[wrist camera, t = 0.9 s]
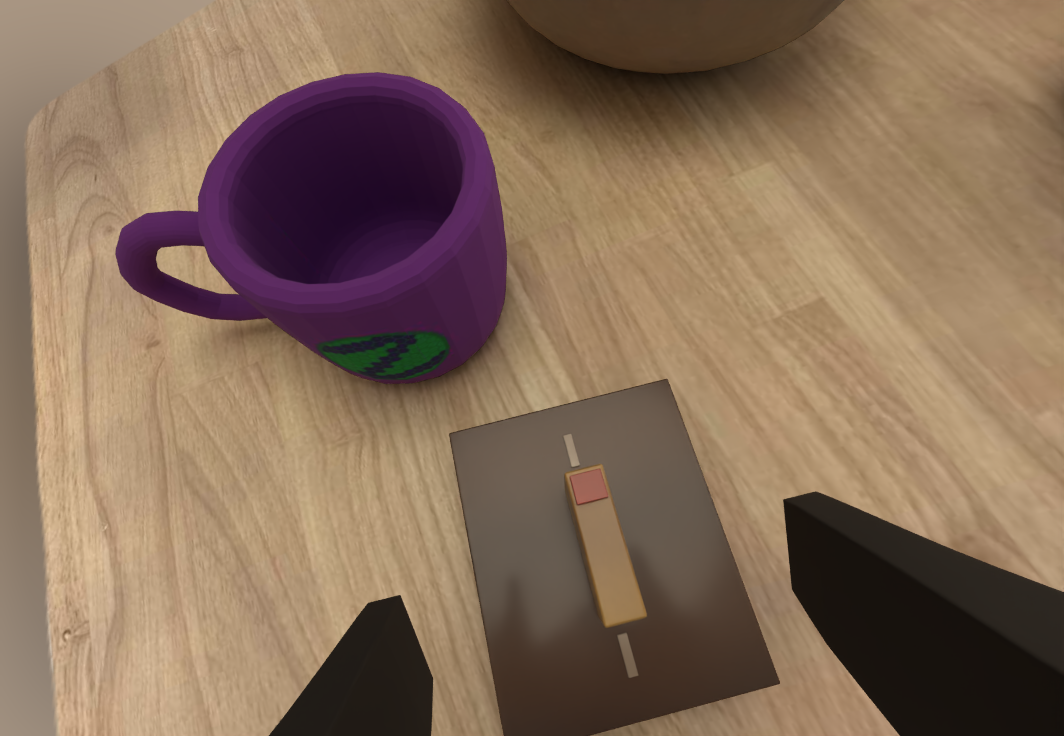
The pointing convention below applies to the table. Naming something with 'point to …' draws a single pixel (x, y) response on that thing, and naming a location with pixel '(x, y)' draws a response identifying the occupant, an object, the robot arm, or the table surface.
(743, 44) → the bowl
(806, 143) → the table surface
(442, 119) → the mug
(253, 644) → the table surface
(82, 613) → the table surface
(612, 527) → the block with red patch
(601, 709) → the lock plate
